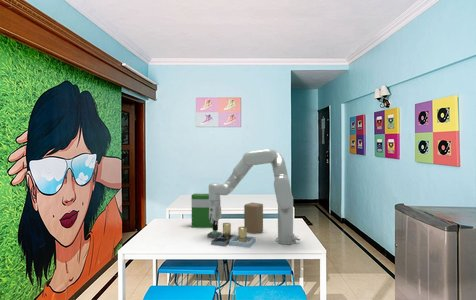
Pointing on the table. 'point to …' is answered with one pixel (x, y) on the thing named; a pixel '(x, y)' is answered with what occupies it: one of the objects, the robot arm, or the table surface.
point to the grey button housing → (213, 235)
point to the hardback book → (200, 211)
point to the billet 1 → (226, 230)
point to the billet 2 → (242, 234)
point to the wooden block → (253, 217)
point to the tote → (242, 244)
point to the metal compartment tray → (221, 240)
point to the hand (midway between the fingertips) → (215, 230)
